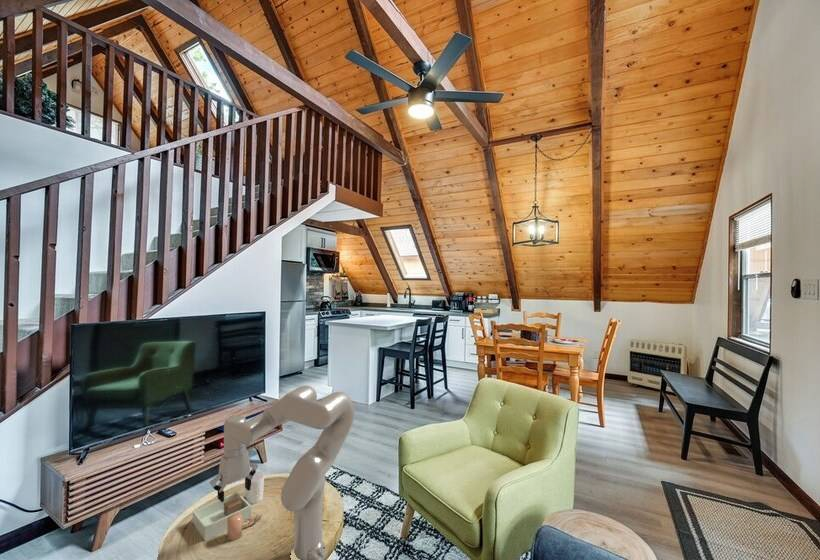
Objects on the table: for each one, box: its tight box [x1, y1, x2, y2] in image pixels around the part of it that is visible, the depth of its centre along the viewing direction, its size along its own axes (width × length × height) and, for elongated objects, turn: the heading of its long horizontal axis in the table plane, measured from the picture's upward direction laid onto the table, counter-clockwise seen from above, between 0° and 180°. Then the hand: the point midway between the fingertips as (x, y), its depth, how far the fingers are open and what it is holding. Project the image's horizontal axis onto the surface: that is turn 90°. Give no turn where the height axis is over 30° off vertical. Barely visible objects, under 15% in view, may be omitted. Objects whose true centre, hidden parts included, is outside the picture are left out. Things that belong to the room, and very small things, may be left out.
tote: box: [192, 491, 252, 542], centre depth 145 cm, size 13×17×5 cm
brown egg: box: [226, 513, 243, 542], centre depth 137 cm, size 5×5×7 cm
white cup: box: [244, 471, 265, 505], centre depth 159 cm, size 8×8×10 cm
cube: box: [224, 497, 242, 516], centre depth 148 cm, size 5×5×5 cm
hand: (234, 494), depth 137 cm, fingers open, 9 cm apart
